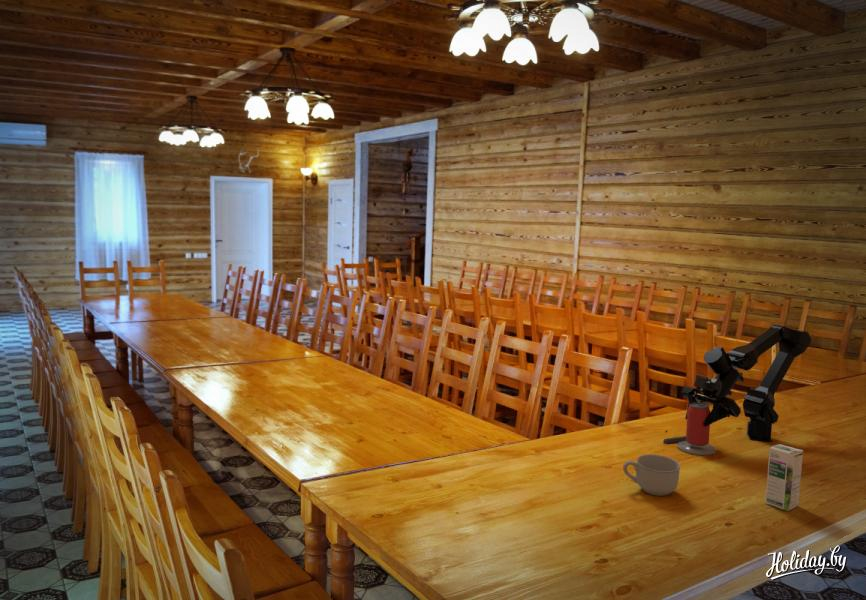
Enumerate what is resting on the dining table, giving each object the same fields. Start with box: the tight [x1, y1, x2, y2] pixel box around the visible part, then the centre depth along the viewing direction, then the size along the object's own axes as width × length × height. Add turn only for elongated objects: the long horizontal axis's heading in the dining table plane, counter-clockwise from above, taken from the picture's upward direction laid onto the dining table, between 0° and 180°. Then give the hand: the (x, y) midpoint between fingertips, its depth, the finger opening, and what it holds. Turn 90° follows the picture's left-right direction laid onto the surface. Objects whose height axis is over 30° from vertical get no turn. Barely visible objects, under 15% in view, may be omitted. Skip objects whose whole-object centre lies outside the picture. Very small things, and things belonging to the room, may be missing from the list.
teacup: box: [622, 453, 681, 497], centre depth 172 cm, size 14×11×8 cm
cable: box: [662, 435, 686, 445], centre depth 211 cm, size 11×2×2 cm, turn 111°
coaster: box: [676, 441, 717, 456], centre depth 204 cm, size 11×11×1 cm
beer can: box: [685, 402, 711, 446], centre depth 203 cm, size 7×7×12 cm
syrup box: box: [764, 443, 804, 512], centre depth 163 cm, size 6×6×14 cm
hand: (695, 422), depth 202 cm, fingers closed on beer can, 7 cm apart
